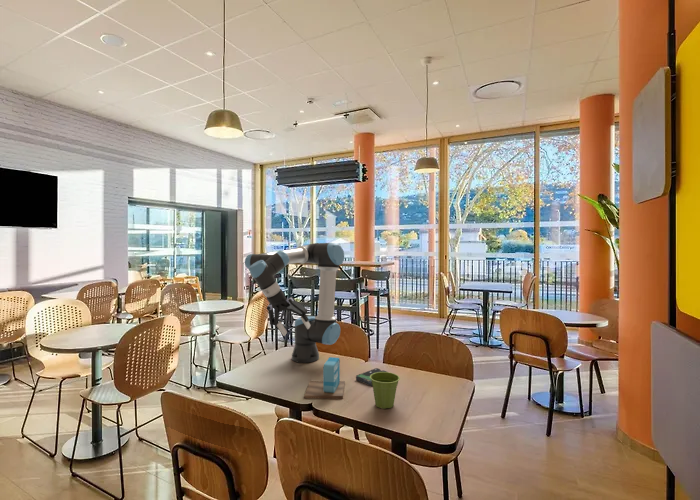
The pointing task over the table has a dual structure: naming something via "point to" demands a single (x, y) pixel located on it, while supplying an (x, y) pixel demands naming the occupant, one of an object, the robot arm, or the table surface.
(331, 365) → the light blue box
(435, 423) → the table surface
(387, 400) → the plant pot
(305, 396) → the board
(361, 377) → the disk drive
